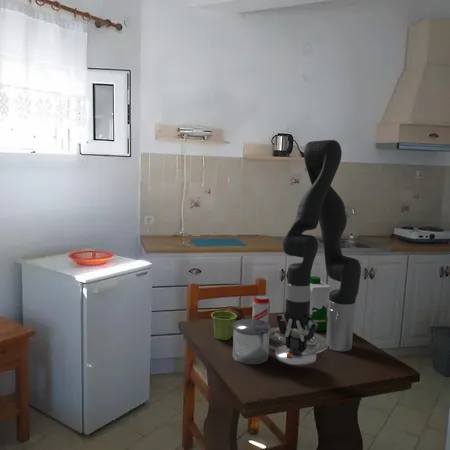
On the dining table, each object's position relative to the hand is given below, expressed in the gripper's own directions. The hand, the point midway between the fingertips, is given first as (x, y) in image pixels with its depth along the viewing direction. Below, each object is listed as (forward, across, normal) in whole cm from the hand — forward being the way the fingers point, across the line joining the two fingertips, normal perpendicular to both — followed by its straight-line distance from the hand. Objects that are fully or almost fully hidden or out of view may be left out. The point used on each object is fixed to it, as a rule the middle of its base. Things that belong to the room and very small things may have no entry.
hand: (295, 349), depth 154 cm
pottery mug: (+8, +38, -22) cm, 44 cm away
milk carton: (+8, +11, -40) cm, 42 cm away
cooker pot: (+7, +16, 0) cm, 18 cm away
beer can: (+7, +22, -16) cm, 28 cm away
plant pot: (+7, +33, -8) cm, 35 cm away
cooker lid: (+2, 0, 0) cm, 2 cm away
